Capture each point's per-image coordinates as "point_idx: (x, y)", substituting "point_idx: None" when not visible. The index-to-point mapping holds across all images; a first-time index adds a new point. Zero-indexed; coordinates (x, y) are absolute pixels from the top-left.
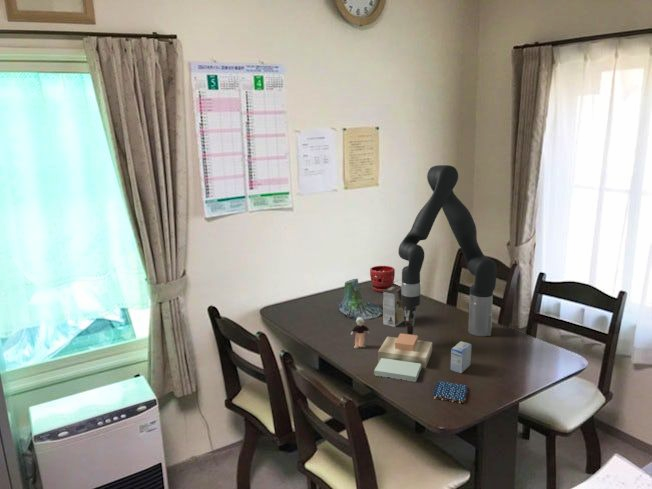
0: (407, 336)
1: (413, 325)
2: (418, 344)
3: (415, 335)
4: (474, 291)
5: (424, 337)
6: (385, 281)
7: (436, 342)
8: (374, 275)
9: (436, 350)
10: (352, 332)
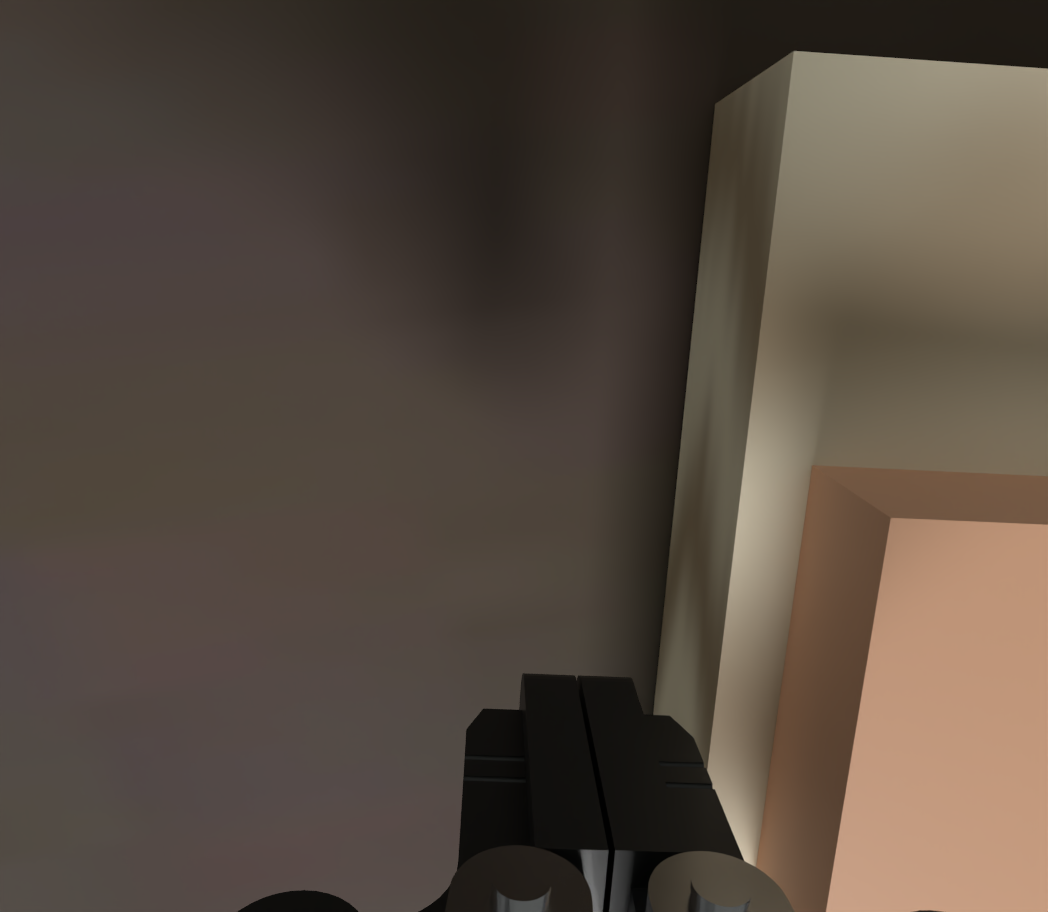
0: (1005, 798)
1: (531, 824)
2: (999, 420)
3: (895, 589)
4: None
5: (32, 361)
6: None
7: (209, 50)
8: None
9: (636, 8)
10: None
